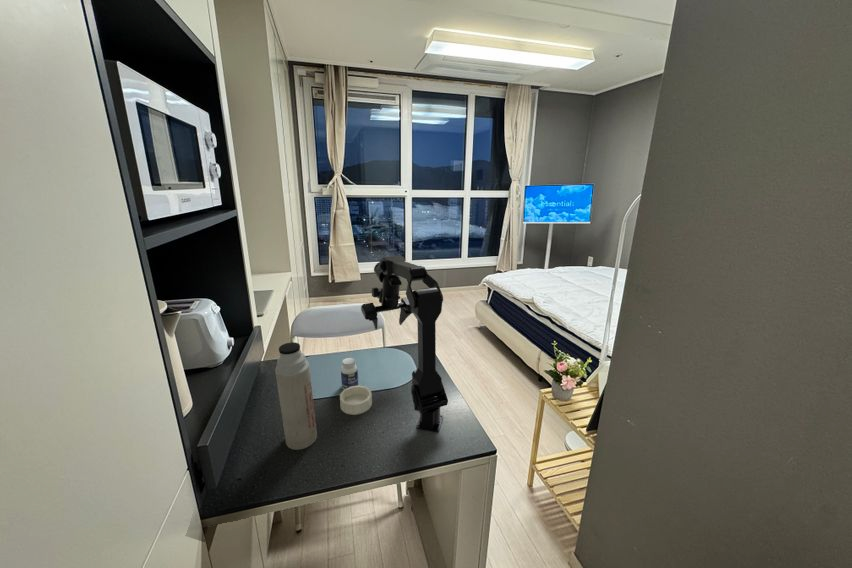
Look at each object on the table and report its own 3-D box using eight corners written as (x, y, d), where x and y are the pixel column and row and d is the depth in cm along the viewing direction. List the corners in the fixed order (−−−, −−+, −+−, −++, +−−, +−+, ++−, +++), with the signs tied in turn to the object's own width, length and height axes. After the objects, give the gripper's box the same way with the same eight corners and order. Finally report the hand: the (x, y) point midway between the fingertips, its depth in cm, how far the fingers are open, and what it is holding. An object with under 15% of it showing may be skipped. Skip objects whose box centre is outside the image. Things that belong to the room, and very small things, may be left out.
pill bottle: (349, 393, 113) (347, 367, 110) (338, 387, 116) (336, 361, 113) (361, 385, 117) (360, 360, 114) (351, 379, 120) (349, 355, 117)
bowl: (364, 417, 102) (363, 407, 101) (334, 411, 104) (333, 401, 103) (376, 397, 111) (376, 388, 110) (349, 392, 113) (348, 383, 112)
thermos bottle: (322, 430, 97) (312, 340, 88) (307, 452, 90) (295, 356, 81) (296, 426, 98) (284, 337, 90) (279, 447, 91) (264, 352, 82)
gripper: (407, 275, 127) (404, 309, 135) (357, 281, 119) (356, 317, 127) (419, 291, 118) (415, 327, 126) (366, 299, 111) (365, 337, 119)
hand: (388, 326), depth 125 cm, fingers open, 9 cm apart
